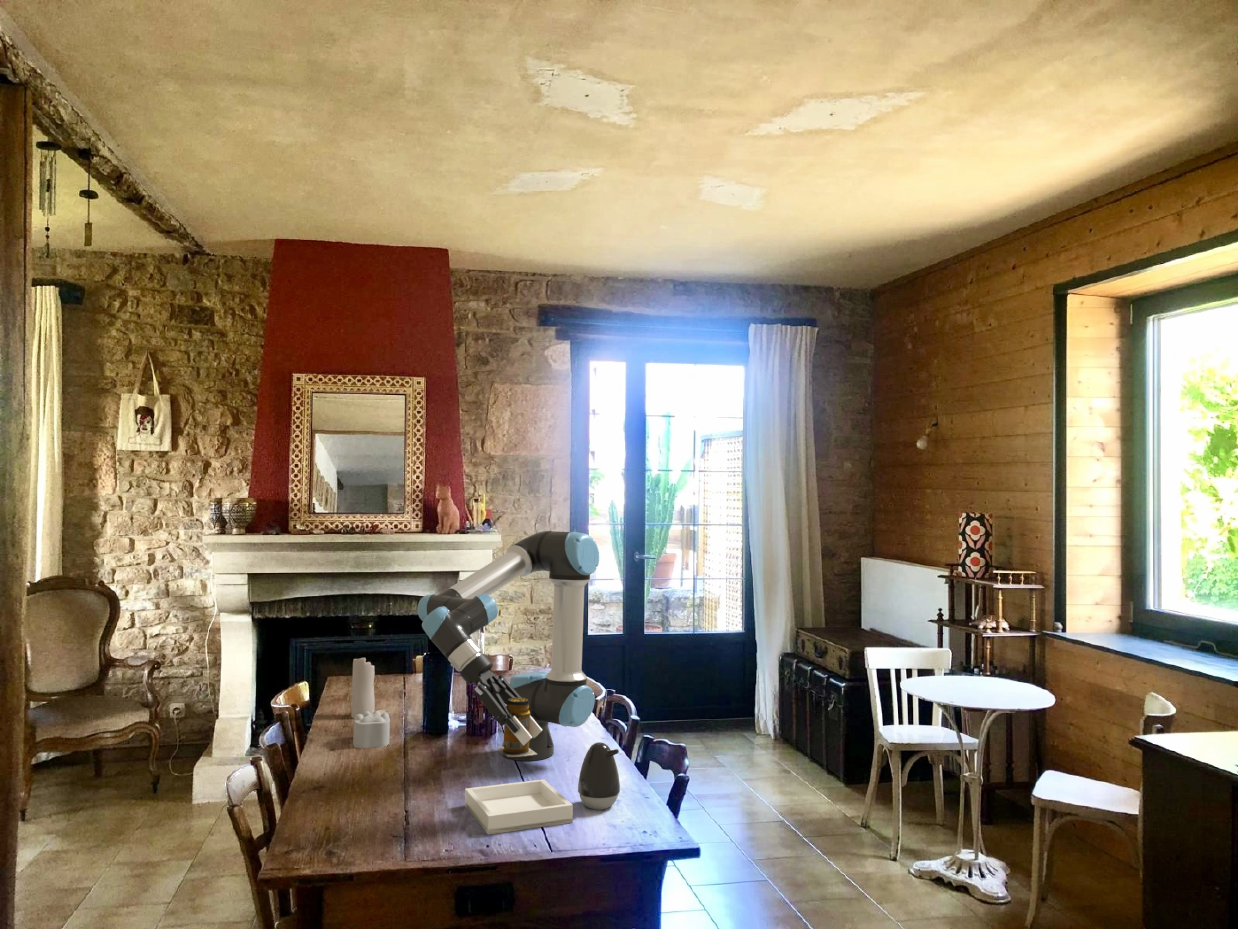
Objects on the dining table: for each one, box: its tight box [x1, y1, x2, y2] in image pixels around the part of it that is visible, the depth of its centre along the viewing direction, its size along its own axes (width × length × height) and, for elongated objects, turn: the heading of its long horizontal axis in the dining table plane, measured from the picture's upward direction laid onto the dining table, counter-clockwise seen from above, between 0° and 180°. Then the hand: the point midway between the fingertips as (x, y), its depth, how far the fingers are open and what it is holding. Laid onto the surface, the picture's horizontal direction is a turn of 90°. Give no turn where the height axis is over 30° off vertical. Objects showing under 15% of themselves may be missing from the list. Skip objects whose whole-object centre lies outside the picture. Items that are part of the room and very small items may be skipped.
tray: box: [464, 779, 574, 836], centre depth 210 cm, size 20×20×4 cm
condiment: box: [496, 698, 537, 757], centre depth 210 cm, size 7×8×12 cm
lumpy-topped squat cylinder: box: [352, 710, 391, 749], centre depth 268 cm, size 10×13×9 cm
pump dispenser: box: [577, 742, 621, 810], centre depth 217 cm, size 10×10×15 cm
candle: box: [350, 657, 386, 719], centre depth 302 cm, size 7×14×20 cm, turn 148°
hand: (533, 737), depth 210 cm, fingers closed on condiment, 6 cm apart
